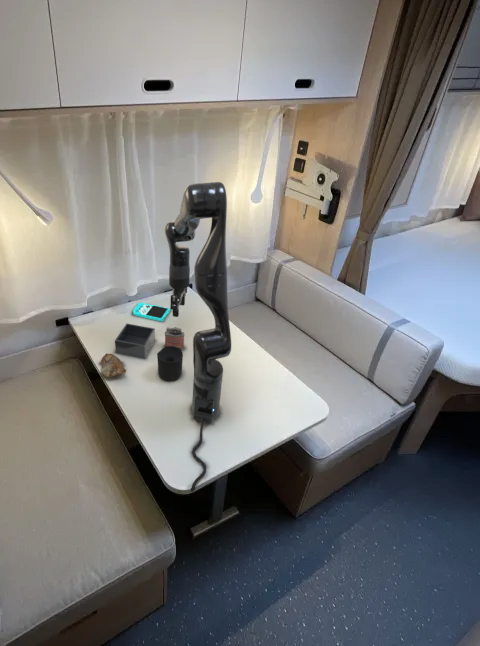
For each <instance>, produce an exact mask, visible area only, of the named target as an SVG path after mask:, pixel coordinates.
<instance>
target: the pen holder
mask: <svg viewBox="0 0 480 646" xmlns="http://www.w3.org/2000/svg"><path fill="white" fill-rule="evenodd" d="M156 357H157V373H158V376H159V378H160V379H161V380H163V381H164V382H169V383H170V382H176V381H178V380H179V379H180V378H181V377H182V371H183V360H184V359H183V358H184V351H183V350H181V349H179V348H178V347H175V346H166V347H165V346H164V347H163V348H161V349H160V350H159V351H158V352H157V353H156Z"/></svg>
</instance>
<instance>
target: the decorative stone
mask: <svg viewBox="0 0 480 646" xmlns="http://www.w3.org/2000/svg"><path fill="white" fill-rule="evenodd" d="M100 364H101V365H102V366H101V367H102V369H100V373H101V374H102V375H104V377H106V378H113V377H115V376H117V375H120V374H121V375H122V374H124V373H126V372H127V369H125V367H124V363H123V362H122V360H121V359H120V358H119V357H118V356H116V355H115V354H113V353H107V352H106V353H105V354H104V355H103V356H102V357H101V360H100Z"/></svg>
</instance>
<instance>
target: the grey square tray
mask: <svg viewBox="0 0 480 646" xmlns="http://www.w3.org/2000/svg"><path fill="white" fill-rule="evenodd" d="M155 341H156V329H155V328H153V327H150V326H149V327H148V326H143V325H137V324H132V323H125V325H124V326H123V328H122V330H121V331H120V332H119V333H118V335H117V336H116V338H115V339H114V347H115V354H121V355H126V356H129V357H135V358H139V359H140V358H141V359H144V360H145V359H146V357H147V356H148V354H149V352H150V351H151V349H152V347H153V345H154V343H155Z"/></svg>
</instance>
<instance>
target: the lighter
mask: <svg viewBox="0 0 480 646" xmlns="http://www.w3.org/2000/svg"><path fill="white" fill-rule="evenodd" d="M166 346H175V347H178V348H179V349H181V350H182V351H183V350H185V332H184V331H183V330H182V328H180V327H177V326H174V327H169V326H168V327H166V329H165V331H164V347H166Z"/></svg>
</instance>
